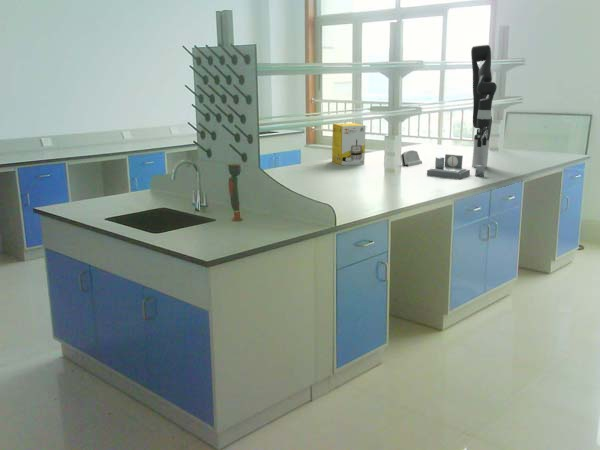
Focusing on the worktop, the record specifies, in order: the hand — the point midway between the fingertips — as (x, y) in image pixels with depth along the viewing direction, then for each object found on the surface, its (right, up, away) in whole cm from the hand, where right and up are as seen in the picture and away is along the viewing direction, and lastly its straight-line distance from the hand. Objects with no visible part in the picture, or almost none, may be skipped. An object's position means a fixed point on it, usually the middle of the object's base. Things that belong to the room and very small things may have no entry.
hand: (481, 146), depth 348 cm
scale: (-18, -16, +7) cm, 25 cm away
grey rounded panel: (-33, -6, +45) cm, 56 cm away
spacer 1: (-23, -12, +7) cm, 27 cm away
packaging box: (-73, -5, +50) cm, 89 cm away
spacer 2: (0, -17, +5) cm, 18 cm away
